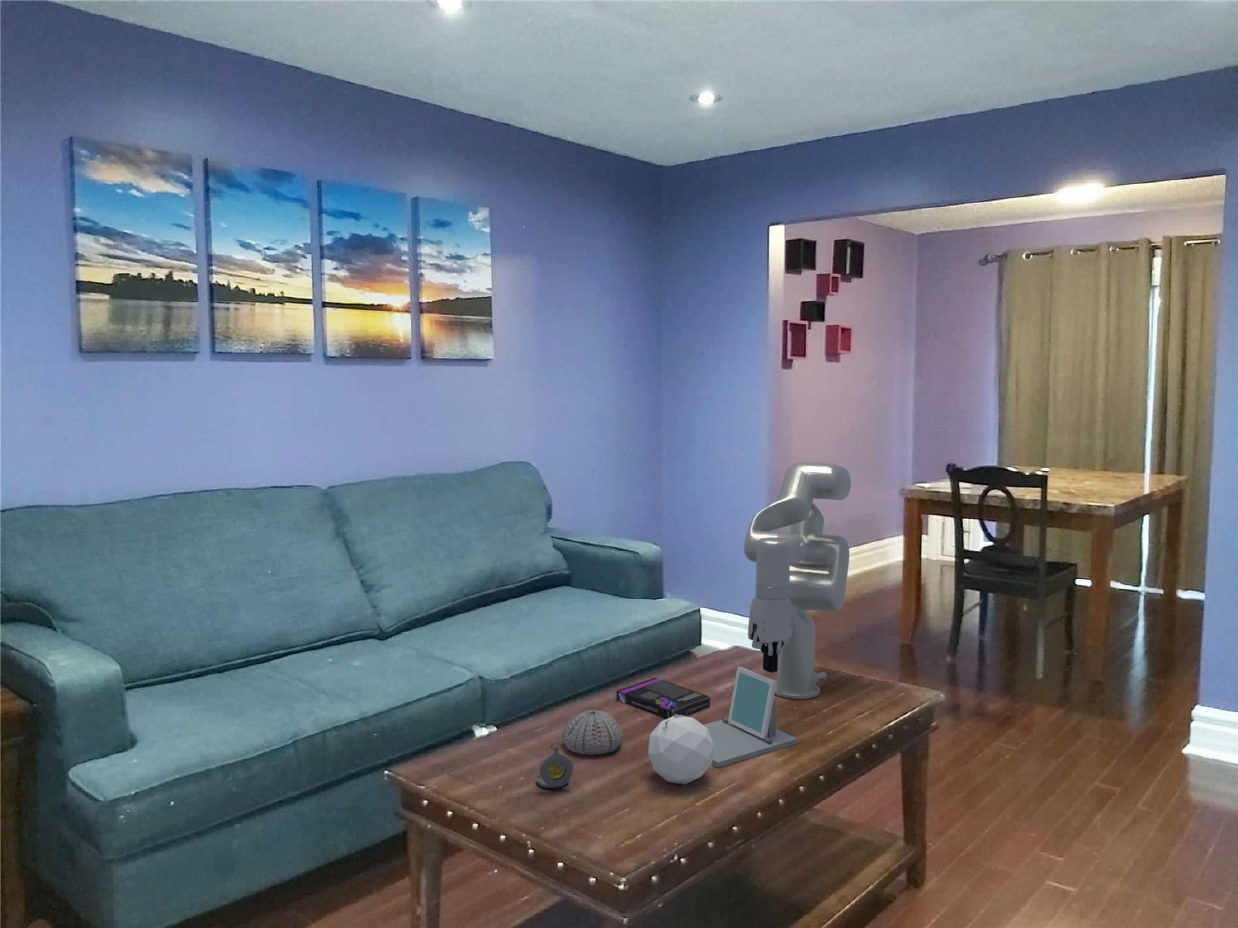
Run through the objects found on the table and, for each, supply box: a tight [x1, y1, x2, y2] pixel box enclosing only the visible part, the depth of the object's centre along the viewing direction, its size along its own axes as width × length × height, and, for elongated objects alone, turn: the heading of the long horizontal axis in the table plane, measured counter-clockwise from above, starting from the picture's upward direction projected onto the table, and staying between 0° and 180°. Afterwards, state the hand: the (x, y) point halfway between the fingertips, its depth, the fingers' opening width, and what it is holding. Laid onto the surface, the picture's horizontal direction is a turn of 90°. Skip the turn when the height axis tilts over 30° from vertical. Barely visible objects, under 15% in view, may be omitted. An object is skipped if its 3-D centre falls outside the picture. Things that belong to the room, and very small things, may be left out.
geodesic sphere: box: [647, 714, 714, 785], centre depth 193 cm, size 14×14×14 cm
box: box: [615, 677, 711, 720], centre depth 238 cm, size 14×4×20 cm
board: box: [702, 698, 798, 769], centre depth 213 cm, size 23×18×9 cm
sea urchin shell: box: [561, 709, 624, 756], centre depth 211 cm, size 13×14×8 cm
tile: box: [727, 666, 777, 739], centre depth 216 cm, size 13×12×1 cm
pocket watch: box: [535, 741, 574, 789], centre depth 191 cm, size 8×8×10 cm
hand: (770, 670), depth 218 cm, fingers closed
